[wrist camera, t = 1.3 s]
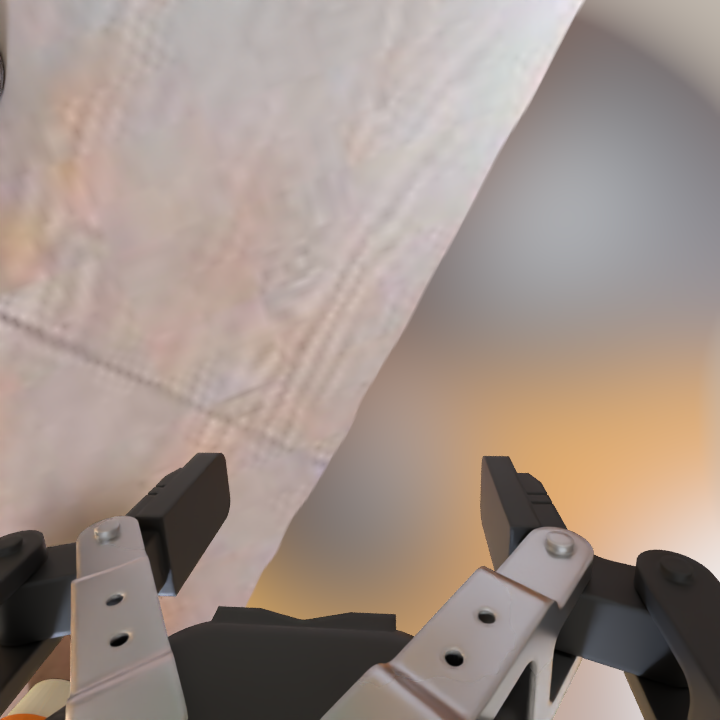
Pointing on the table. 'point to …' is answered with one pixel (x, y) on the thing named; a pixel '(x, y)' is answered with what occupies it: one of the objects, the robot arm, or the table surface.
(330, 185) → the table surface
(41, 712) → the reusable coffee cup
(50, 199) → the table surface
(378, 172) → the table surface
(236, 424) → the table surface
